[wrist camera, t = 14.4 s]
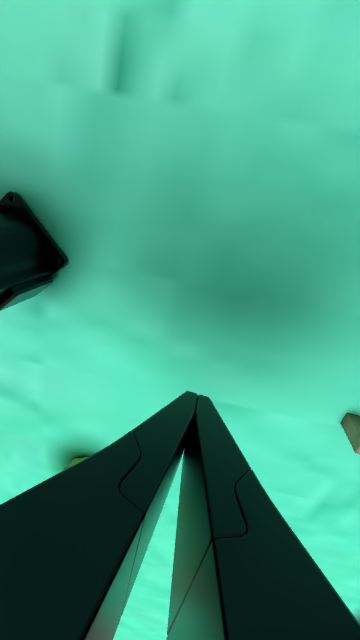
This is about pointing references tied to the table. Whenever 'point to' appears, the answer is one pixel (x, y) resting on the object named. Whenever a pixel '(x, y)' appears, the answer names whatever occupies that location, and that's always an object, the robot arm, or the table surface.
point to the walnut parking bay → (352, 430)
